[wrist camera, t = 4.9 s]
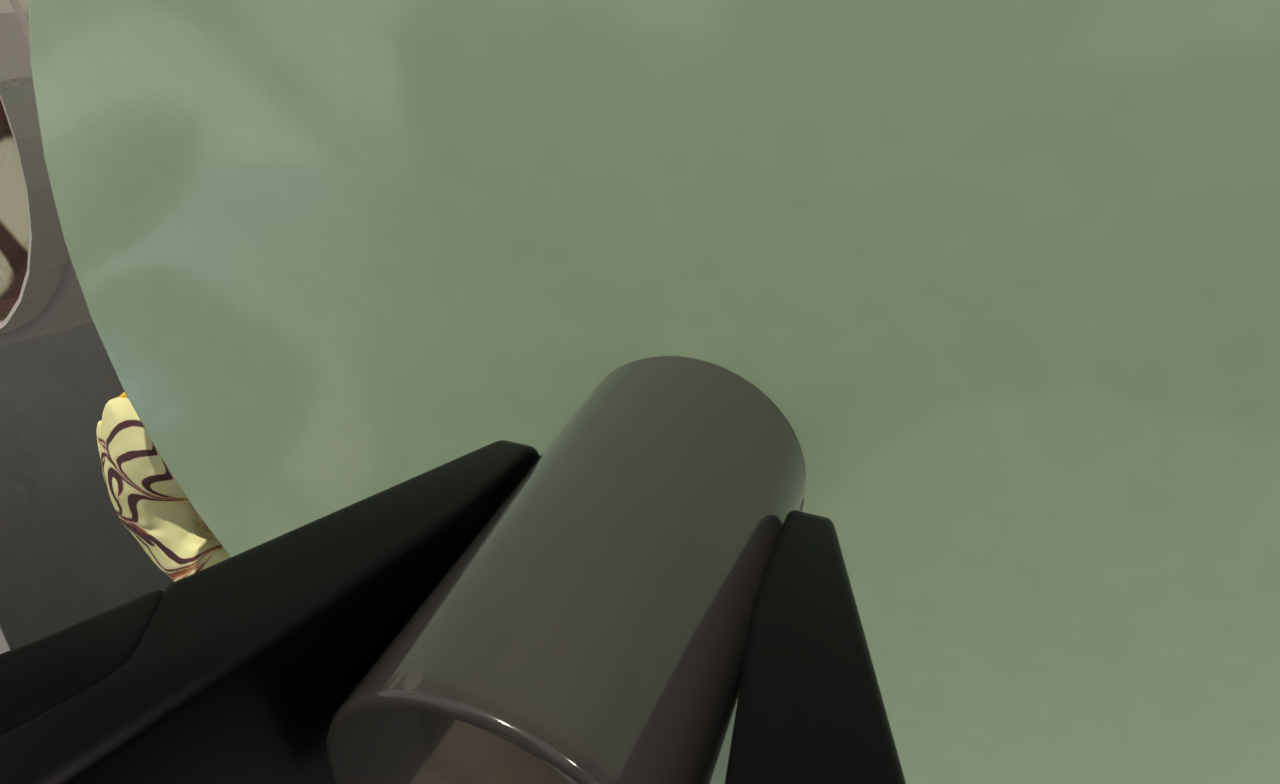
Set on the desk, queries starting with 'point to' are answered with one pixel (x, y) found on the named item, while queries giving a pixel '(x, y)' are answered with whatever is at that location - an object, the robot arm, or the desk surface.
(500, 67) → the lid
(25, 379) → the desk surface
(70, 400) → the desk surface
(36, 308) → the food container
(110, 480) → the decorated donut
